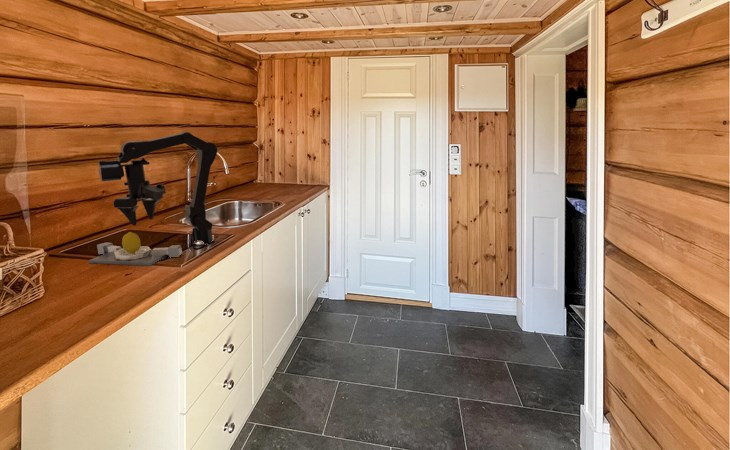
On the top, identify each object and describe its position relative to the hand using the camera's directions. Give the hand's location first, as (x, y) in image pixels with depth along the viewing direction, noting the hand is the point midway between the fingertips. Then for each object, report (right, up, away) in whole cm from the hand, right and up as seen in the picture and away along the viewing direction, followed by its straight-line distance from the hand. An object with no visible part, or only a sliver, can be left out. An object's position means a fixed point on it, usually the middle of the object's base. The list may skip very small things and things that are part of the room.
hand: (143, 222), depth 143 cm
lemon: (-2, -11, -3) cm, 12 cm away
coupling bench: (-2, -12, -3) cm, 13 cm away
